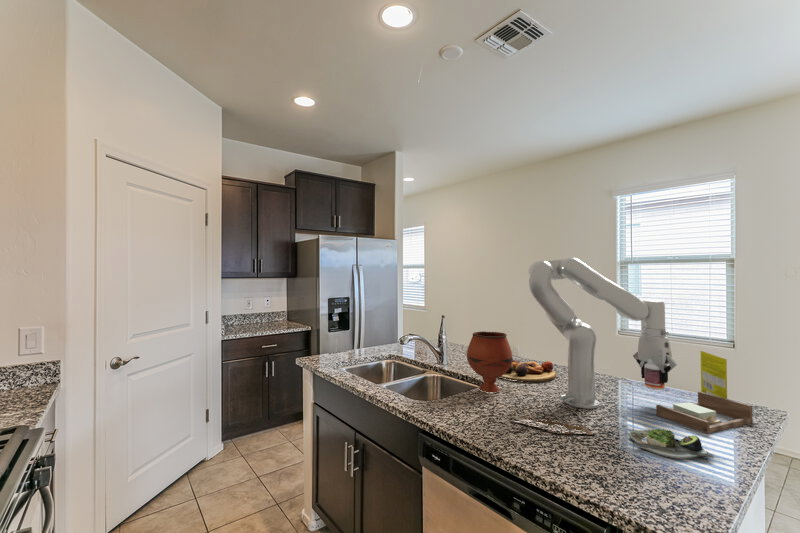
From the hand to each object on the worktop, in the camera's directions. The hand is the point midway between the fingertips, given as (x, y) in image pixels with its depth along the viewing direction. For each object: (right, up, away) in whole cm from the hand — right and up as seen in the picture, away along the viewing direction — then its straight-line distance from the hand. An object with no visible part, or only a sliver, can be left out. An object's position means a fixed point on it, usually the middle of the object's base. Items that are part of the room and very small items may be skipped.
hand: (654, 379), depth 137 cm
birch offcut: (+3, -9, -15) cm, 18 cm away
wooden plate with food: (-34, -13, +47) cm, 60 cm away
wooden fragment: (-46, -11, -17) cm, 51 cm away
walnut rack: (+7, -11, -13) cm, 19 cm away
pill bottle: (0, -3, 0) cm, 3 cm away
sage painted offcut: (+3, -6, -15) cm, 17 cm away
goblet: (-57, -11, +20) cm, 62 cm away
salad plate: (-17, -11, -30) cm, 36 cm away
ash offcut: (+3, -8, -15) cm, 17 cm away
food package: (+24, -11, +1) cm, 26 cm away
